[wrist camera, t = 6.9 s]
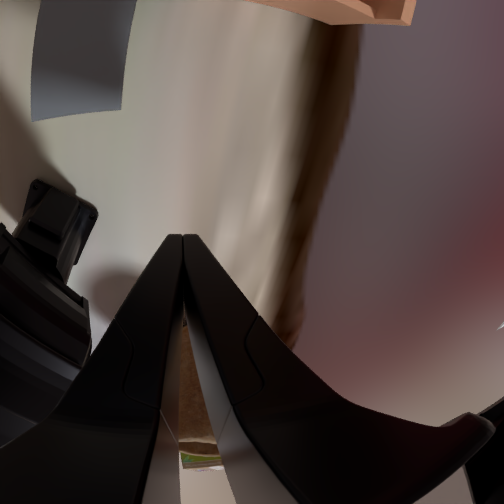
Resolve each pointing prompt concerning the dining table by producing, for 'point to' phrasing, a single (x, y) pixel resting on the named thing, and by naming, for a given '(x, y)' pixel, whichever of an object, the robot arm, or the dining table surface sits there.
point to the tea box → (201, 462)
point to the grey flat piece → (79, 56)
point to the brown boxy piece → (350, 10)
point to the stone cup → (193, 407)
